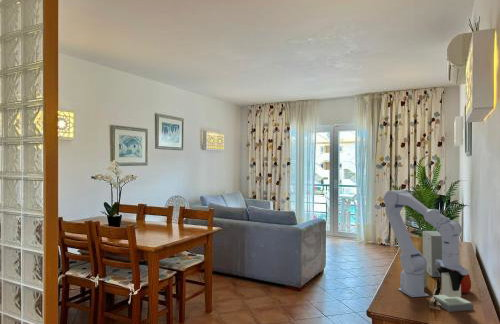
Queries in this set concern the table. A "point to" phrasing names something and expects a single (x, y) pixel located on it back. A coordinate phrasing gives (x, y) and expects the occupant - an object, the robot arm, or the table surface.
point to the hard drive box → (432, 251)
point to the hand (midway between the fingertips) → (451, 288)
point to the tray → (453, 303)
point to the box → (425, 277)
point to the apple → (465, 284)
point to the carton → (449, 286)
